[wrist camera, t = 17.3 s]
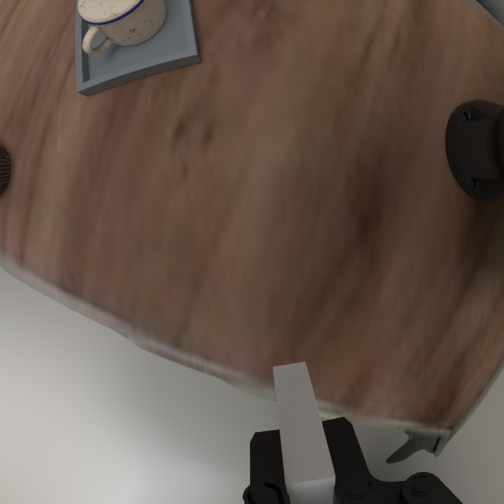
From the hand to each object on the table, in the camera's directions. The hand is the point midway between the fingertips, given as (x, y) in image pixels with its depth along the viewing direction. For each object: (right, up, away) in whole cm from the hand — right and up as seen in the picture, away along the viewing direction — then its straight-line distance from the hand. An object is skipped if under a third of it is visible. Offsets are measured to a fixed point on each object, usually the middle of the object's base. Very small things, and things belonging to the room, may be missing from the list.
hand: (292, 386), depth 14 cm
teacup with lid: (-18, +36, +17) cm, 43 cm away
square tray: (-17, +36, +18) cm, 44 cm away
